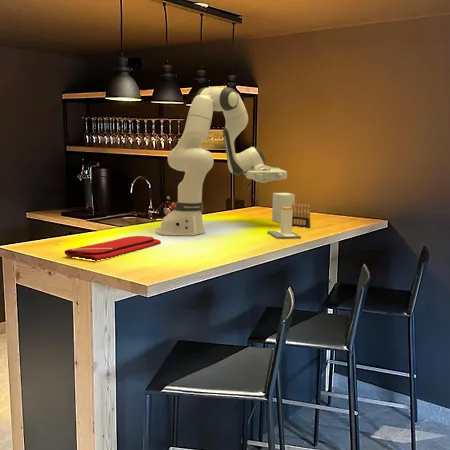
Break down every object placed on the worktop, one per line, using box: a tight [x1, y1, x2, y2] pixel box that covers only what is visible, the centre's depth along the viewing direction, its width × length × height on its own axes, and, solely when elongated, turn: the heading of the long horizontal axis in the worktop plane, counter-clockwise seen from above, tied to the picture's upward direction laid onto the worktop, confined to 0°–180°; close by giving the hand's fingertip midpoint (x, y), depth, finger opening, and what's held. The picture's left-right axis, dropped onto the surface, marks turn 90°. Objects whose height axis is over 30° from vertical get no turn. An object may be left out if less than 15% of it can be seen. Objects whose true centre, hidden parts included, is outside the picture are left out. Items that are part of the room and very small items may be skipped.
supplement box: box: [271, 192, 296, 224], centre depth 303 cm, size 9×9×15 cm
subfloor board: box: [267, 230, 302, 240], centre depth 262 cm, size 11×15×1 cm
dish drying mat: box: [64, 235, 162, 261], centre depth 223 cm, size 16×41×4 cm, turn 153°
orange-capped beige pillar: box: [280, 207, 293, 234], centre depth 260 cm, size 4×4×12 cm
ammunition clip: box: [292, 202, 311, 229], centre depth 287 cm, size 11×2×12 cm, turn 57°
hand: (271, 176), depth 274 cm, fingers open, 8 cm apart
